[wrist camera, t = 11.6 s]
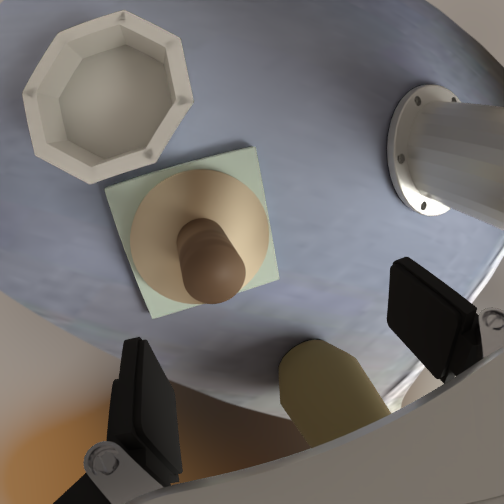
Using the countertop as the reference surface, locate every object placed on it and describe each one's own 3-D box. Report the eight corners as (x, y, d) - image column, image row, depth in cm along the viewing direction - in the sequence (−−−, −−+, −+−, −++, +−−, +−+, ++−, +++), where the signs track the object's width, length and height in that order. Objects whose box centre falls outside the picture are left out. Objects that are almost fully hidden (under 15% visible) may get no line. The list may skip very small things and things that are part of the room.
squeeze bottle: (349, 325, 29) (469, 456, 13) (327, 383, 32) (414, 507, 16) (275, 331, 27) (387, 508, 11) (260, 394, 30) (335, 546, 14)
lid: (252, 154, 20) (287, 164, 14) (274, 277, 23) (307, 319, 18) (113, 191, 18) (95, 215, 13) (155, 312, 22) (158, 365, 17)
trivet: (252, 146, 20) (255, 146, 19) (275, 274, 24) (279, 279, 24) (106, 187, 18) (104, 189, 18) (152, 313, 23) (152, 319, 22)
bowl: (168, 27, 15) (172, -2, 11) (193, 145, 19) (204, 149, 15) (46, 67, 14) (16, 52, 9) (72, 183, 17) (48, 200, 13)
